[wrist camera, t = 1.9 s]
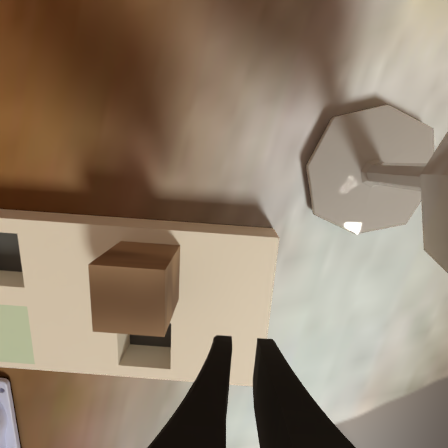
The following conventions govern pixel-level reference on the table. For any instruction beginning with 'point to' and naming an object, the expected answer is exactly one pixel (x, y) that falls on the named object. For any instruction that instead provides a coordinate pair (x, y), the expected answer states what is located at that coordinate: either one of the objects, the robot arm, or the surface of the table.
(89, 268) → the block
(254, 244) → the beige flat block
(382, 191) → the wineglass
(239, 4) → the table surface
